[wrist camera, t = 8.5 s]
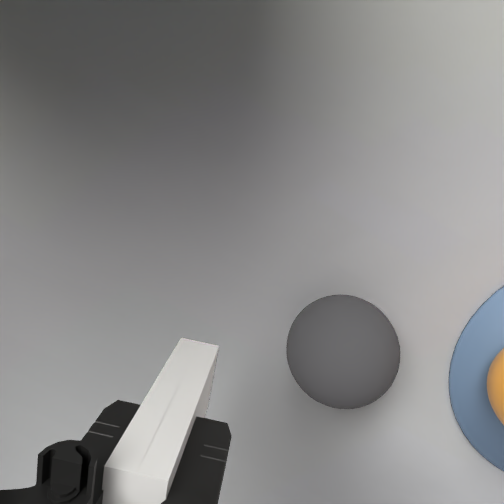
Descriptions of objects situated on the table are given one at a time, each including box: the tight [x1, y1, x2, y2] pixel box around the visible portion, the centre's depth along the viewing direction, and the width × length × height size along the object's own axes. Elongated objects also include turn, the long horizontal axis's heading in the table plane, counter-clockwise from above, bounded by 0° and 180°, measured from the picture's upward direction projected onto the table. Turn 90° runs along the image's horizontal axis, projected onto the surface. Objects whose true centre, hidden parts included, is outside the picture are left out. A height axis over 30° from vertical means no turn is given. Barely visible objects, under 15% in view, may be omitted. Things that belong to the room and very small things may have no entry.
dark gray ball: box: [287, 295, 400, 409], centre depth 20 cm, size 6×6×6 cm
